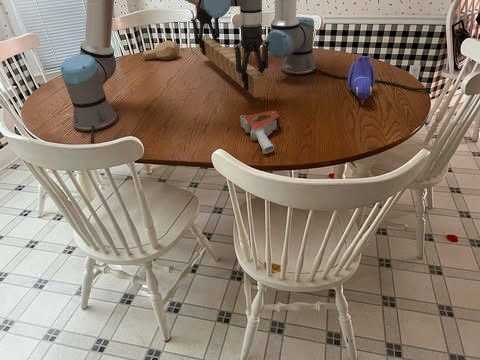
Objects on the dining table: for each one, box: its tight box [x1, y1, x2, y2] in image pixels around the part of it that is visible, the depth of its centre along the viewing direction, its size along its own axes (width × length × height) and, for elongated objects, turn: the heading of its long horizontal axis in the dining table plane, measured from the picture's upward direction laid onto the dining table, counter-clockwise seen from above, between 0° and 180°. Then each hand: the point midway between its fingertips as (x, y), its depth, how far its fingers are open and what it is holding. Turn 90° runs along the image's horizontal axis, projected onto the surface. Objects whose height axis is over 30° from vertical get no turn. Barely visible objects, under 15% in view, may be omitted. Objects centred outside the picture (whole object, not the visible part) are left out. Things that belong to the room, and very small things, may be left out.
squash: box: [142, 39, 180, 61], centre depth 190 cm, size 11×20×9 cm, turn 92°
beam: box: [199, 35, 267, 98], centre depth 156 cm, size 67×5×7 cm, turn 23°
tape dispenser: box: [239, 110, 280, 155], centre depth 117 cm, size 18×5×20 cm
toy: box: [347, 55, 376, 106], centre depth 135 cm, size 10×17×25 cm
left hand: (252, 88), depth 138 cm, fingers closed on beam, 5 cm apart
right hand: (209, 53), depth 177 cm, fingers closed on beam, 5 cm apart
